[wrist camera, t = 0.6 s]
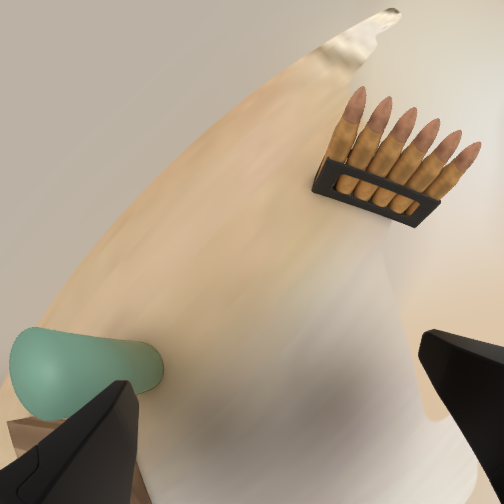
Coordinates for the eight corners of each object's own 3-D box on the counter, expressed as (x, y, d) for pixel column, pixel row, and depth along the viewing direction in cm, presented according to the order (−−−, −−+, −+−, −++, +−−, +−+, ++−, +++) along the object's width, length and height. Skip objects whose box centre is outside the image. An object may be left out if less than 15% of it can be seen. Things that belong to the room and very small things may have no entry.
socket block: (160, 524, 15) (148, 546, 12) (65, 510, 14) (46, 523, 11) (124, 421, 19) (102, 432, 15) (32, 416, 18) (6, 421, 14)
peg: (168, 388, 20) (84, 424, 8) (122, 392, 20) (18, 417, 8) (158, 338, 21) (66, 322, 9) (114, 344, 21) (5, 330, 9)
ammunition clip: (311, 191, 25) (346, 90, 14) (315, 175, 26) (349, 74, 15) (415, 228, 24) (492, 158, 13) (416, 211, 25) (487, 139, 14)
